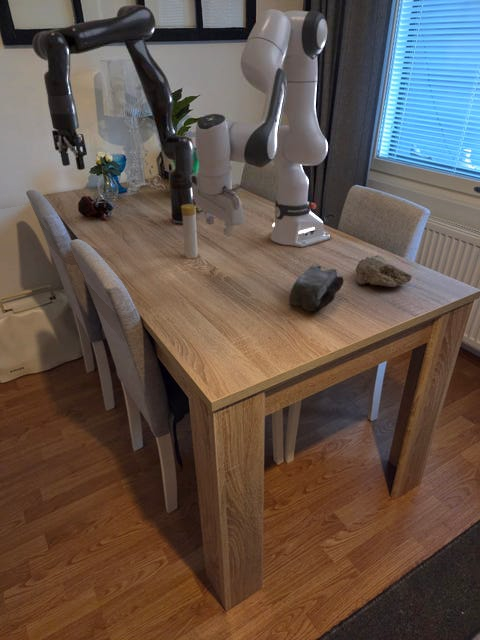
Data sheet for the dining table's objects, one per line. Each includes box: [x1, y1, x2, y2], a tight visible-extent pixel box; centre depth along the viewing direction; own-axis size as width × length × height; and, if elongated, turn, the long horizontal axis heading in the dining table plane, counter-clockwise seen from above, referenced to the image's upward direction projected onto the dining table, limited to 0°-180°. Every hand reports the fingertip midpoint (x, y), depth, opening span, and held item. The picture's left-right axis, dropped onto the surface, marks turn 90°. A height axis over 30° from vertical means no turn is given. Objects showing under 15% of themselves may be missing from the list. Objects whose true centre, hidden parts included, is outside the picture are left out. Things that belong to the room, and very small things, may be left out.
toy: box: [77, 195, 115, 221], centre depth 185 cm, size 12×9×15 cm
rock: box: [288, 265, 345, 313], centre depth 125 cm, size 18×11×8 cm, turn 152°
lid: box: [181, 204, 197, 215], centre depth 146 cm, size 5×5×2 cm
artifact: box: [355, 255, 413, 288], centre depth 137 cm, size 18×7×15 cm
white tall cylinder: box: [182, 213, 199, 259], centre depth 150 cm, size 4×4×17 cm
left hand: (73, 167), depth 141 cm, fingers open, 8 cm apart
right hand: (218, 228), depth 127 cm, fingers open, 8 cm apart
